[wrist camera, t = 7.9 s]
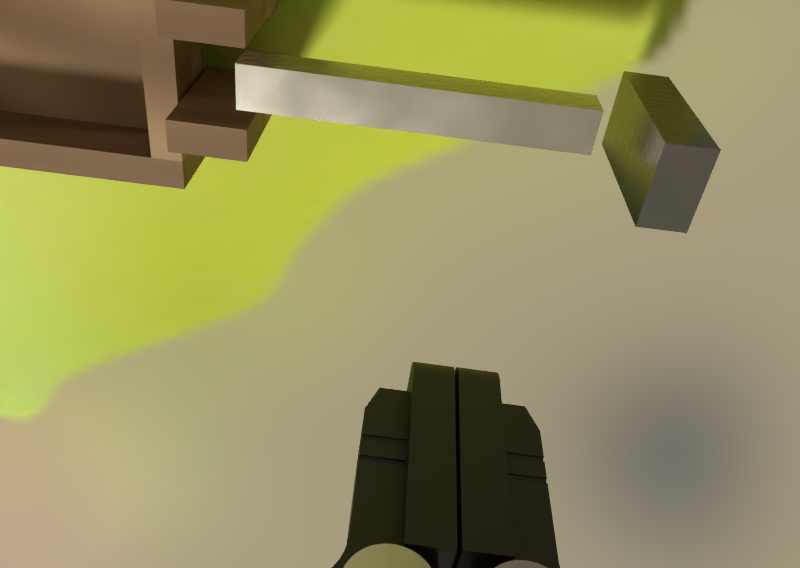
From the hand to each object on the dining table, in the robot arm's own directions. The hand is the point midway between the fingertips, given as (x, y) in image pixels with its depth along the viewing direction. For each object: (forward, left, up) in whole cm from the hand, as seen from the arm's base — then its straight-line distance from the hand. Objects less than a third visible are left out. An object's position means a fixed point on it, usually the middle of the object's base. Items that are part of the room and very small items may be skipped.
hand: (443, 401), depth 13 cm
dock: (0, -13, -19) cm, 23 cm away
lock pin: (0, 0, -16) cm, 16 cm away
